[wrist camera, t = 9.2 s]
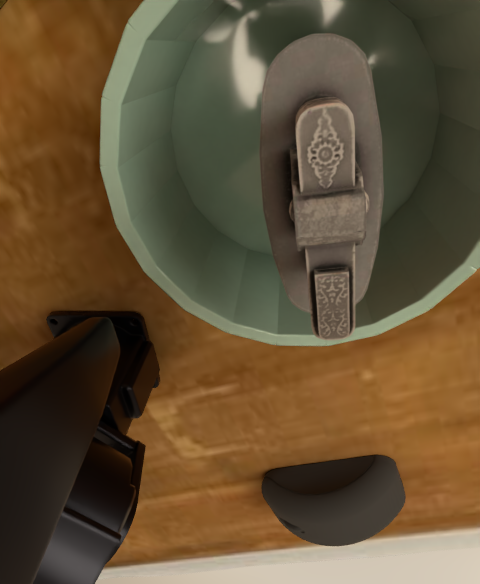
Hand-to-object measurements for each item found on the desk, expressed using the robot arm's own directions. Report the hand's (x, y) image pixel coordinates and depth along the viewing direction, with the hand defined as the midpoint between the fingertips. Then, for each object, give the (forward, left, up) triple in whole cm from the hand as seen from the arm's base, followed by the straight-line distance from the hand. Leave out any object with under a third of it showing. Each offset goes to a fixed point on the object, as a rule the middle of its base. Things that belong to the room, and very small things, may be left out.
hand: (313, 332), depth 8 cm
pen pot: (0, +1, -12) cm, 12 cm away
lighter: (0, +1, -12) cm, 12 cm away
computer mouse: (+3, -27, -12) cm, 30 cm away
